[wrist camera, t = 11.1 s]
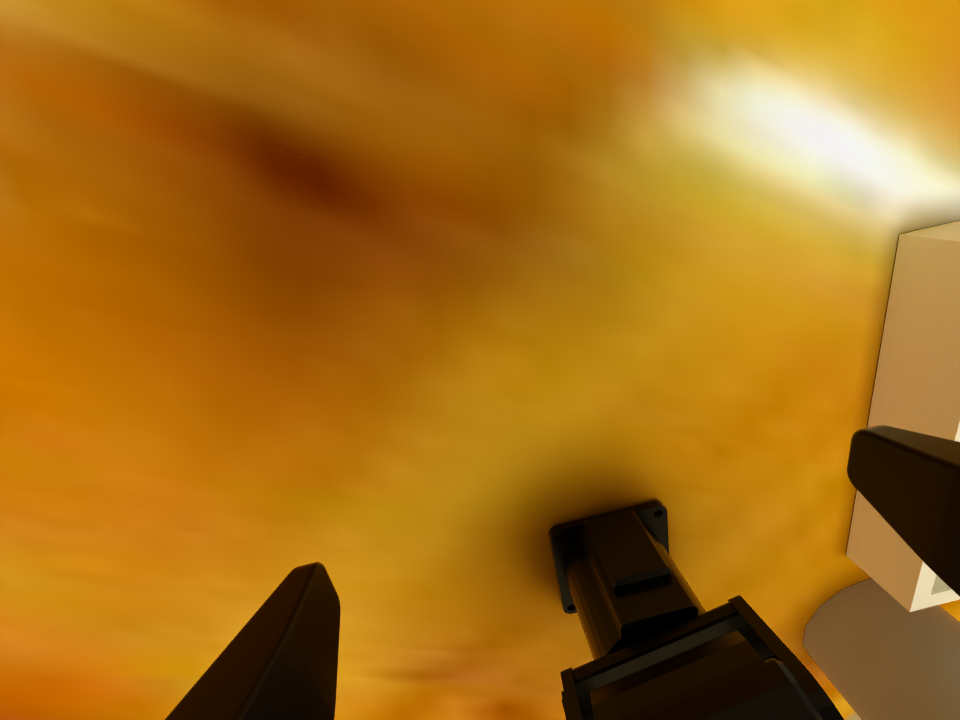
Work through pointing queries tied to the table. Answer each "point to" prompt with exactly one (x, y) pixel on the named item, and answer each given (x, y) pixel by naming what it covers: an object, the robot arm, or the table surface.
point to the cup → (887, 655)
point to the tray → (914, 397)
